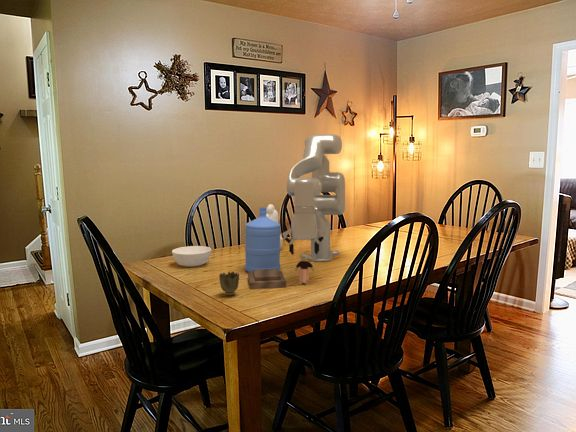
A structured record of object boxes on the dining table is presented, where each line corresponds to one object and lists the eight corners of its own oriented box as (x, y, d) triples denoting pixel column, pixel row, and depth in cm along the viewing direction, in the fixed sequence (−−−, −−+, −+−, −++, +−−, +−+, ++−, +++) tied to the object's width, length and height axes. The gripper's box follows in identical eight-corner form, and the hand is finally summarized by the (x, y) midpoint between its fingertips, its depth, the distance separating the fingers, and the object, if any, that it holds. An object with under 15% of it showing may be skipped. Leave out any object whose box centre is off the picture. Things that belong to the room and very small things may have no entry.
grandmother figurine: (295, 285, 181) (295, 254, 179) (294, 282, 185) (294, 251, 183) (314, 284, 182) (314, 253, 180) (313, 281, 186) (313, 251, 184)
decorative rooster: (262, 246, 257) (261, 202, 254) (288, 248, 251) (288, 203, 248) (241, 255, 234) (240, 207, 231) (269, 257, 228) (268, 208, 225)
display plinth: (281, 276, 194) (281, 267, 193) (286, 287, 178) (286, 277, 178) (248, 278, 192) (248, 268, 191) (250, 289, 176) (250, 279, 176)
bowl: (193, 258, 229) (192, 244, 228) (219, 263, 218) (219, 248, 217) (164, 266, 214) (163, 251, 213) (191, 271, 204) (190, 255, 202)
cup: (222, 299, 165) (222, 277, 163) (217, 293, 171) (216, 273, 170) (242, 296, 168) (241, 275, 166) (236, 291, 174) (235, 270, 173)
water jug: (281, 274, 197) (282, 210, 193) (245, 274, 195) (245, 210, 192) (278, 265, 212) (279, 206, 209) (244, 266, 211) (244, 206, 207)
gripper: (323, 209, 184) (323, 251, 186) (281, 210, 181) (281, 252, 183) (327, 211, 176) (327, 254, 178) (283, 212, 174) (283, 256, 176)
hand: (304, 253), depth 181 cm, fingers open, 9 cm apart
